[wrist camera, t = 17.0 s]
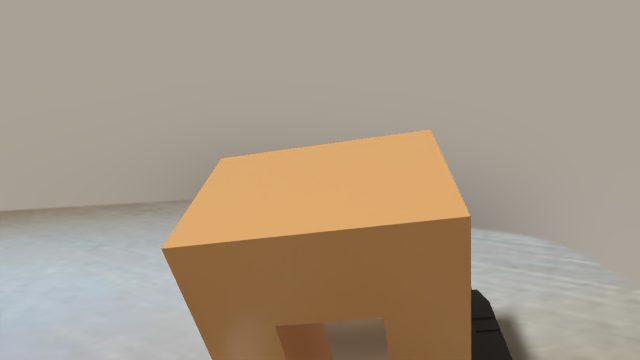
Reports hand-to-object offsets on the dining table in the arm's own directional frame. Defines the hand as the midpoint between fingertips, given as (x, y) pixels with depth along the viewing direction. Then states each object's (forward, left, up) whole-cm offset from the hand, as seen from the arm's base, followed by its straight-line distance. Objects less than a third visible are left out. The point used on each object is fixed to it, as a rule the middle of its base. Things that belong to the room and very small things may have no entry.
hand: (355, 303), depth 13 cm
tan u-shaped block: (-2, -2, -8) cm, 8 cm away
